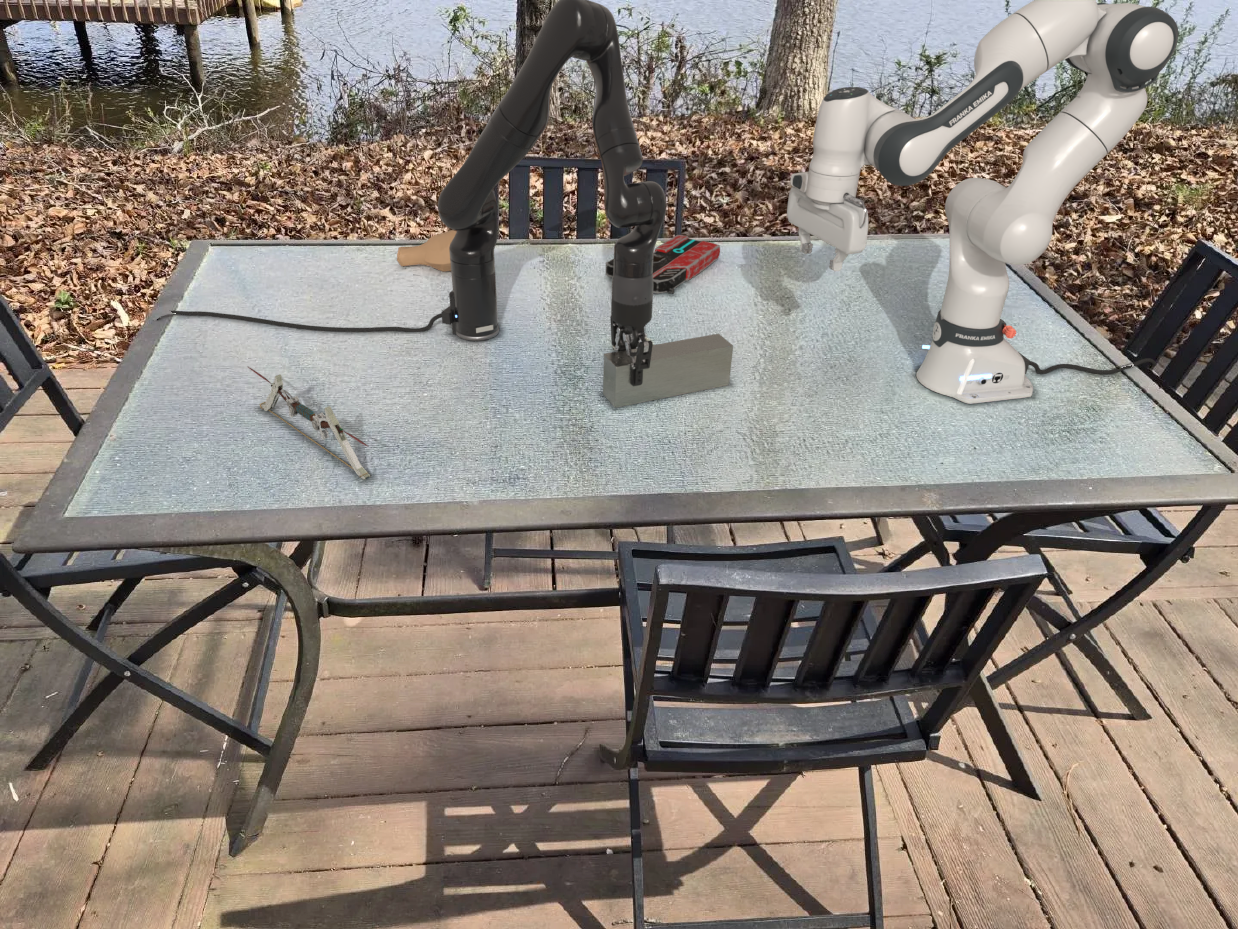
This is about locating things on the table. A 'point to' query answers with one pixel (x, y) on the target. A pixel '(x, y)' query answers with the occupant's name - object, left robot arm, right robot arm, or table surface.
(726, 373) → the bar
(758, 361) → the table surface
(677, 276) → the gun
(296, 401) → the bow
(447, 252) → the squash
